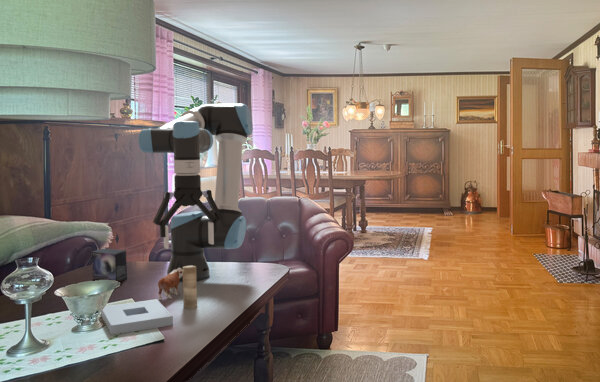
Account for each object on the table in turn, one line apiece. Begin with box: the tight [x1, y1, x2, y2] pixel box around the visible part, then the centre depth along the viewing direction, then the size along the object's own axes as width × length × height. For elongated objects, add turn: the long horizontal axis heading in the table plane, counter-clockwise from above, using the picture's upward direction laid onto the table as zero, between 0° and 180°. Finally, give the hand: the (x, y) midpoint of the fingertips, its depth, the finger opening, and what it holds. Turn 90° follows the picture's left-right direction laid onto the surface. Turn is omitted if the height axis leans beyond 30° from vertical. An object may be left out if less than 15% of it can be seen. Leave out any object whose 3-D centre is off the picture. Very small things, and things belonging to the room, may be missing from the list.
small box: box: [91, 247, 128, 282], centre depth 203 cm, size 11×6×10 cm, turn 68°
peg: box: [182, 266, 198, 309], centre depth 170 cm, size 4×4×12 cm
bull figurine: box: [157, 268, 183, 301], centre depth 182 cm, size 4×13×8 cm, turn 161°
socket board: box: [100, 298, 174, 336], centre depth 158 cm, size 18×16×2 cm
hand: (189, 245), depth 169 cm, fingers open, 13 cm apart
